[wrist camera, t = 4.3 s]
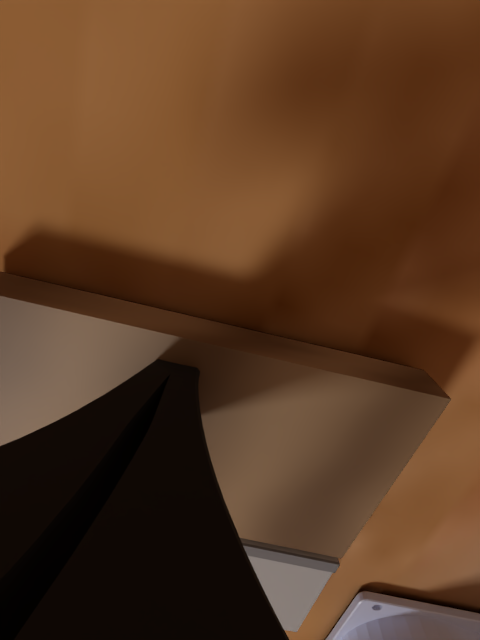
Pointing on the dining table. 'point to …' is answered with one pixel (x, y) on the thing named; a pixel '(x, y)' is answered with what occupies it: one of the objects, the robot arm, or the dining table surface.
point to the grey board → (290, 578)
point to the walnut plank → (228, 405)
